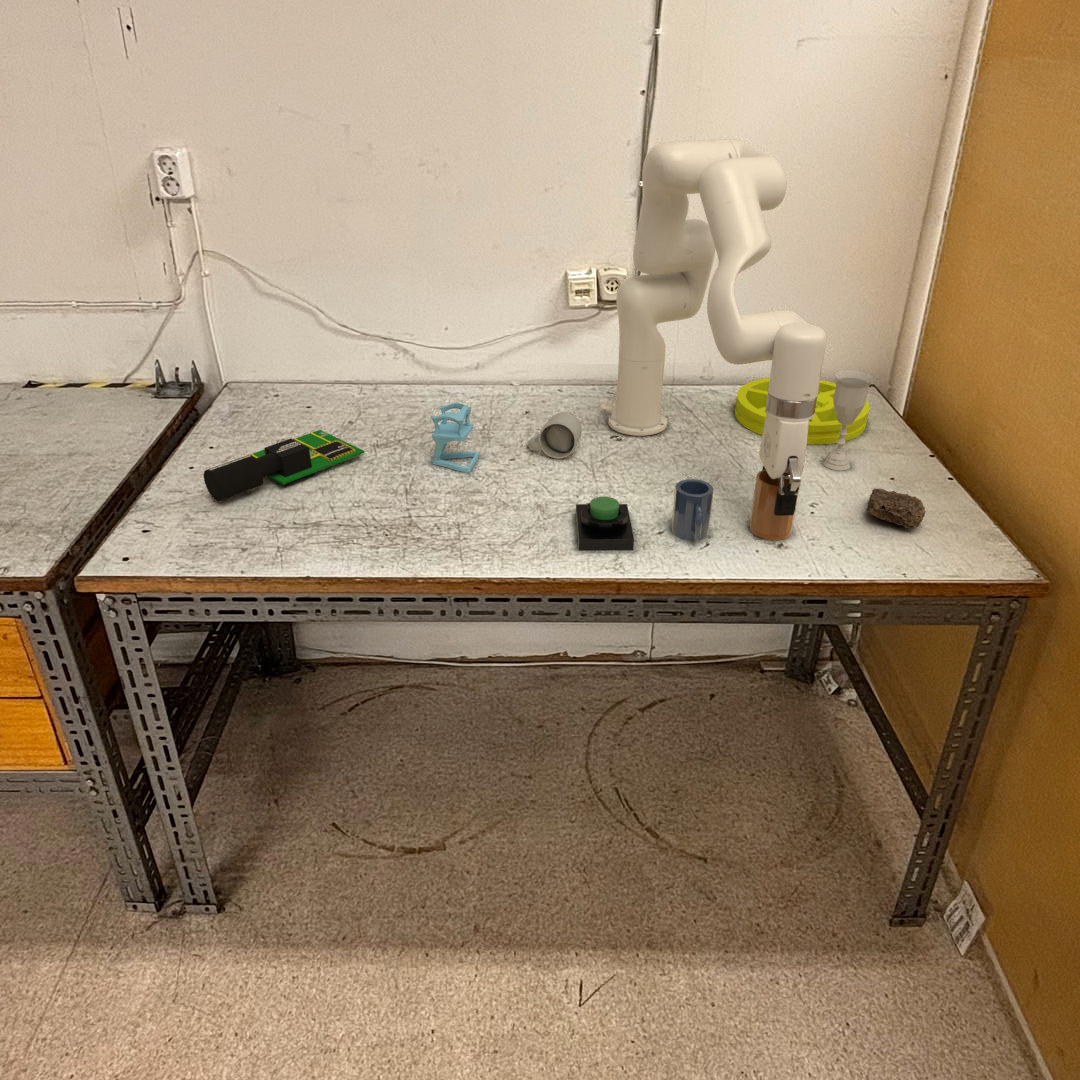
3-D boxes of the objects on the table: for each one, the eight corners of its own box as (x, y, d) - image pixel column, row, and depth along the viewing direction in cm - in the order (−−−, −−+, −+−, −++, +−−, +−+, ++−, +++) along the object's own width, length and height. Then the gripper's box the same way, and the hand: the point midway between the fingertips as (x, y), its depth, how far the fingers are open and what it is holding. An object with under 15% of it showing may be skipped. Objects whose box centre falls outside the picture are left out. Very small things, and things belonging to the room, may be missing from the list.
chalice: (856, 474, 166) (875, 385, 156) (820, 471, 167) (836, 382, 157) (852, 458, 172) (870, 371, 162) (817, 455, 173) (833, 369, 164)
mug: (668, 523, 150) (672, 479, 145) (704, 522, 150) (709, 478, 146) (677, 550, 142) (682, 504, 138) (715, 549, 142) (720, 504, 138)
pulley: (890, 439, 179) (895, 417, 177) (763, 448, 176) (766, 426, 173) (830, 390, 203) (834, 370, 200) (717, 397, 199) (719, 377, 196)
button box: (633, 550, 142) (634, 529, 140) (578, 551, 142) (579, 530, 140) (626, 514, 152) (627, 494, 150) (575, 515, 152) (576, 495, 150)
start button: (619, 520, 143) (620, 510, 142) (590, 521, 143) (591, 510, 142) (617, 506, 147) (617, 496, 146) (589, 507, 147) (589, 496, 146)
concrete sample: (916, 540, 145) (923, 514, 142) (855, 524, 149) (860, 498, 147) (929, 511, 153) (936, 486, 150) (871, 497, 158) (877, 472, 155)
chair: (440, 452, 174) (436, 396, 168) (479, 456, 173) (477, 399, 166) (428, 469, 168) (423, 411, 161) (469, 473, 166) (466, 415, 160)
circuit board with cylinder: (316, 406, 177) (361, 426, 168) (321, 437, 180) (365, 458, 172) (179, 452, 158) (221, 477, 149) (187, 485, 162) (229, 512, 153)
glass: (744, 534, 146) (751, 481, 141) (755, 516, 152) (763, 465, 147) (785, 544, 144) (794, 491, 139) (795, 525, 149) (804, 473, 144)
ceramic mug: (583, 443, 177) (583, 408, 173) (575, 460, 171) (576, 424, 167) (532, 440, 179) (531, 405, 175) (523, 456, 173) (522, 420, 169)
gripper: (754, 385, 143) (743, 478, 152) (780, 426, 128) (766, 526, 137) (800, 384, 143) (785, 477, 152) (831, 425, 128) (813, 525, 137)
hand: (776, 500), depth 144 cm, fingers open, 9 cm apart
